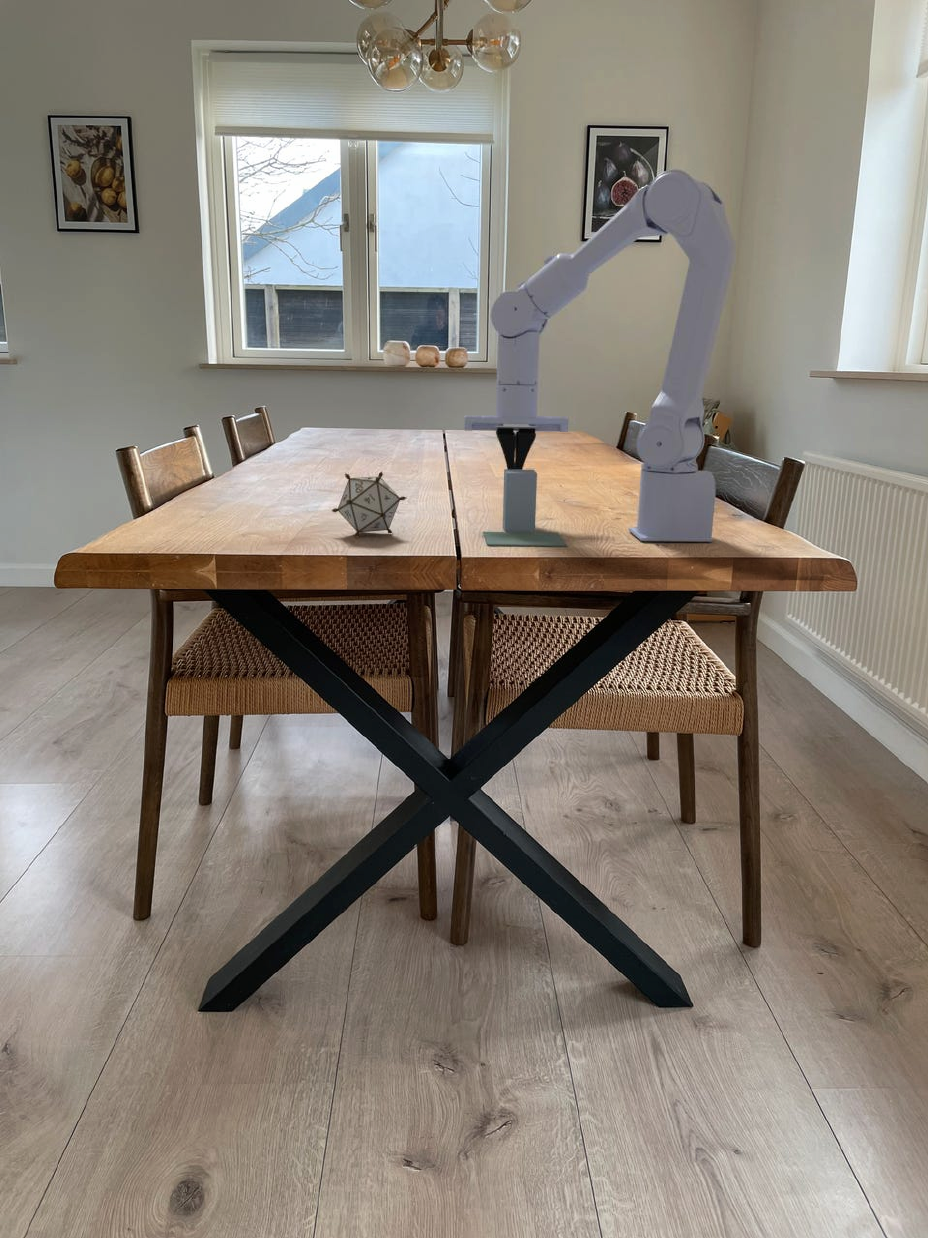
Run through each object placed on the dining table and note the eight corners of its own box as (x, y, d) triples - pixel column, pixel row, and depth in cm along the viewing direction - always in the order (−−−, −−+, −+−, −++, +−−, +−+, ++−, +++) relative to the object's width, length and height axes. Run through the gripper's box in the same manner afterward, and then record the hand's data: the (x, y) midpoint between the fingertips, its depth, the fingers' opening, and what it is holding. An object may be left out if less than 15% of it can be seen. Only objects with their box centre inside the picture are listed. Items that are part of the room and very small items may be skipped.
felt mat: (557, 533, 126) (557, 532, 126) (567, 546, 118) (567, 544, 118) (482, 532, 126) (482, 531, 126) (487, 545, 117) (487, 544, 117)
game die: (381, 564, 123) (402, 510, 116) (319, 540, 122) (336, 485, 115) (397, 521, 130) (418, 467, 122) (339, 498, 129) (356, 443, 121)
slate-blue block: (531, 527, 130) (533, 469, 128) (534, 533, 126) (537, 473, 124) (502, 527, 130) (504, 469, 128) (505, 532, 126) (506, 472, 124)
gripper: (564, 384, 135) (560, 479, 139) (463, 382, 134) (462, 478, 138) (572, 385, 128) (567, 486, 132) (465, 384, 128) (464, 484, 131)
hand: (514, 482), depth 135 cm, fingers closed
